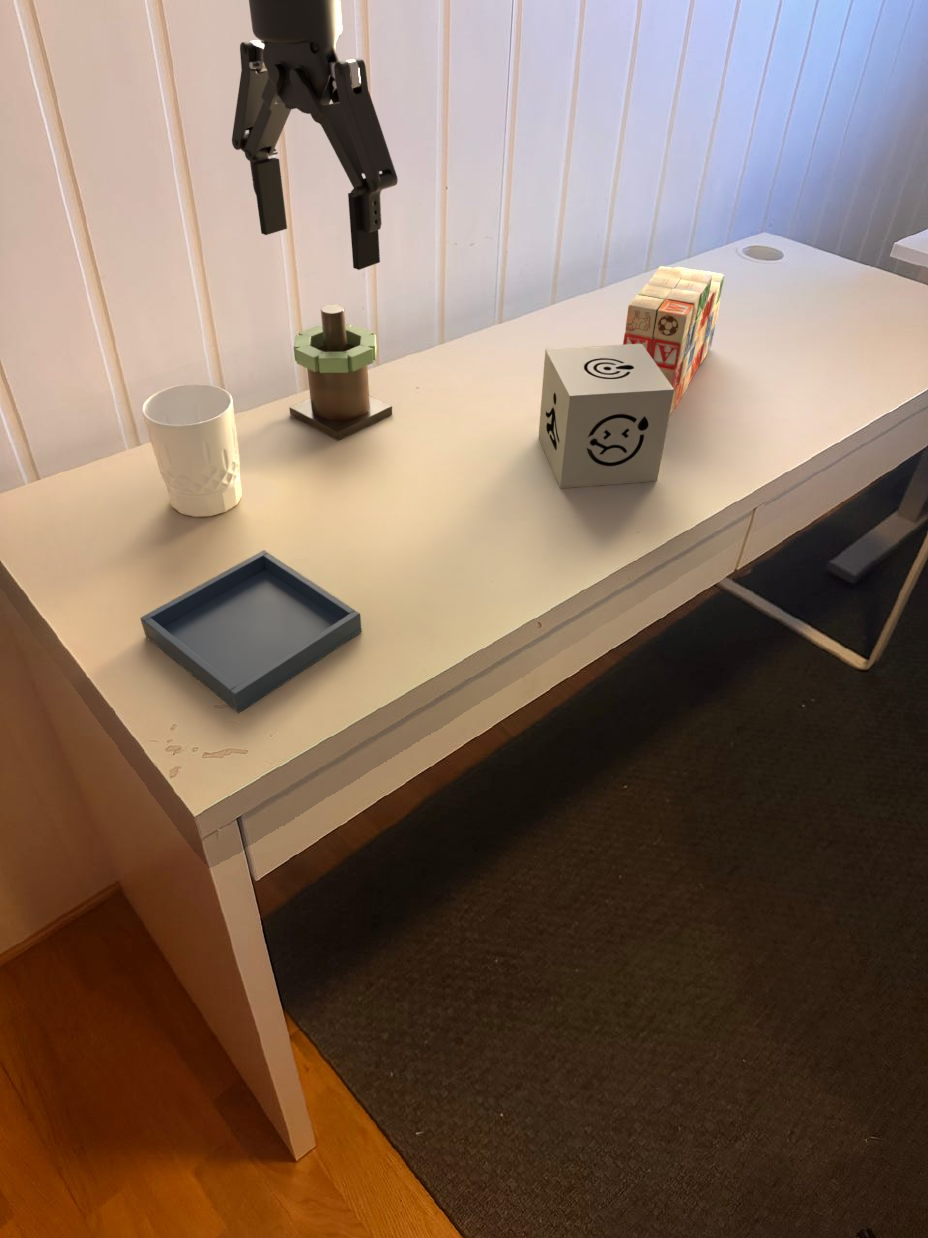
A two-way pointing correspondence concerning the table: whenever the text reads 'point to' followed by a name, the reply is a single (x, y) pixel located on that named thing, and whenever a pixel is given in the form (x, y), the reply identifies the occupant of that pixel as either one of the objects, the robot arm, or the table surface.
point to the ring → (335, 361)
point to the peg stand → (339, 388)
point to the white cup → (195, 447)
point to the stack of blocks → (676, 321)
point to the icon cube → (603, 415)
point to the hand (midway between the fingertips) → (318, 247)
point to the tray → (251, 628)
